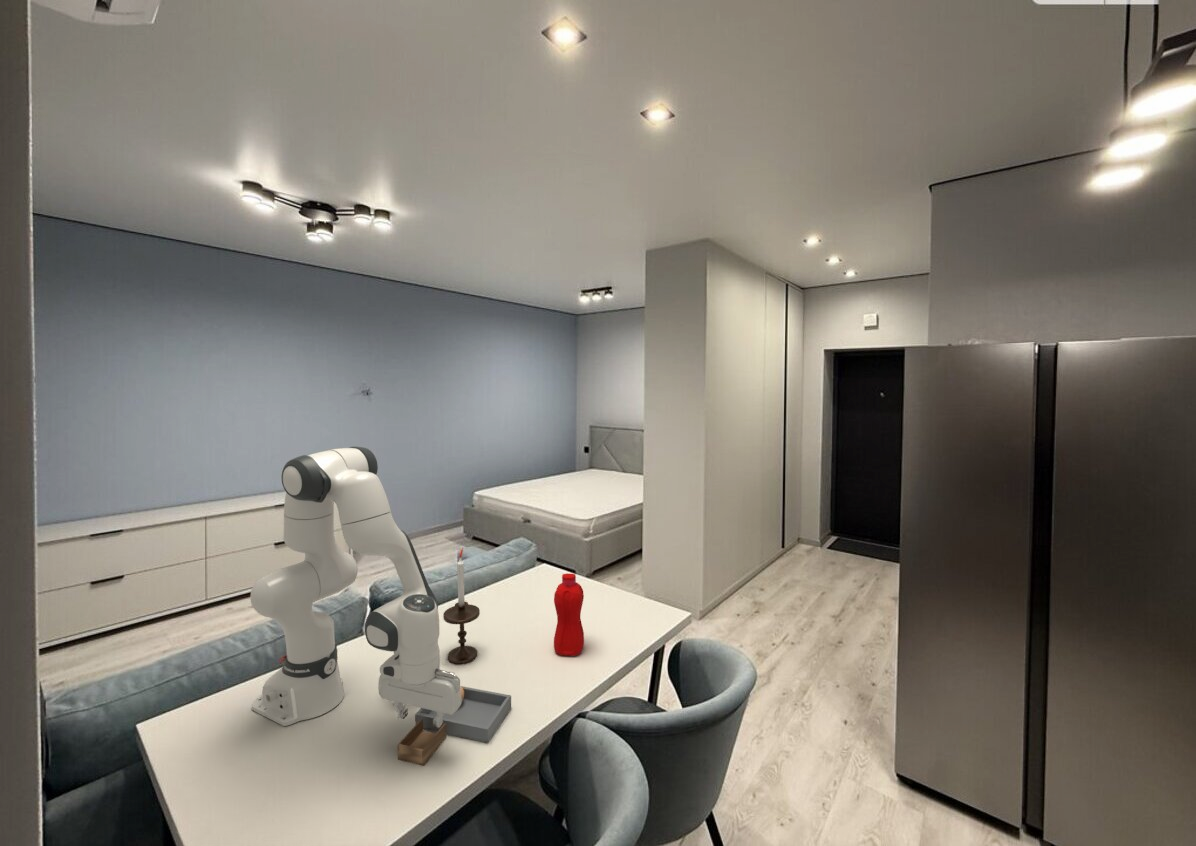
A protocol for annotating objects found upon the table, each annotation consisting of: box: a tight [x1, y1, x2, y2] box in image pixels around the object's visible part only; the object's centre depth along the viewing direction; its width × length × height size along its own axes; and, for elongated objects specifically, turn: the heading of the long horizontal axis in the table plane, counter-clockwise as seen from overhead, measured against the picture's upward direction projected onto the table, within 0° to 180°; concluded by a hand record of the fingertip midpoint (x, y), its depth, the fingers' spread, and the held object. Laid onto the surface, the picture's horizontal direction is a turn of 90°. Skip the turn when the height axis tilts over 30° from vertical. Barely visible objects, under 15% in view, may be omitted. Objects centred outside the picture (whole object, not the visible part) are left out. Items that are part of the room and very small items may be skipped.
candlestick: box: [442, 547, 481, 666], centre depth 152 cm, size 11×11×35 cm
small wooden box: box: [397, 718, 447, 767], centre depth 115 cm, size 7×9×4 cm
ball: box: [460, 685, 464, 701], centre depth 130 cm, size 5×5×5 cm
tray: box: [414, 685, 512, 744], centre depth 126 cm, size 20×13×4 cm, turn 75°
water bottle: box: [553, 573, 585, 657], centre depth 157 cm, size 9×11×25 cm
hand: (420, 721), depth 115 cm, fingers open, 8 cm apart
